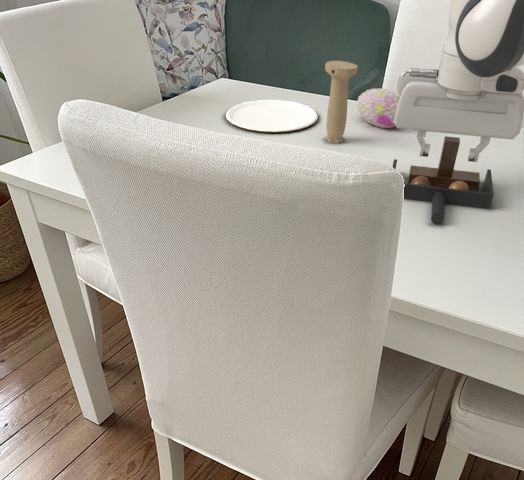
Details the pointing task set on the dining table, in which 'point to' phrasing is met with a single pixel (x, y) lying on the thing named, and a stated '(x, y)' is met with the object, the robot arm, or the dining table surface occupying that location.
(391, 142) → the dining table surface
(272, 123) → the plate
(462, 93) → the robot arm
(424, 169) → the brush
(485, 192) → the dustpan
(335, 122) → the handle
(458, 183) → the crumb
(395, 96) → the decorative item
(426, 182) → the crumb
